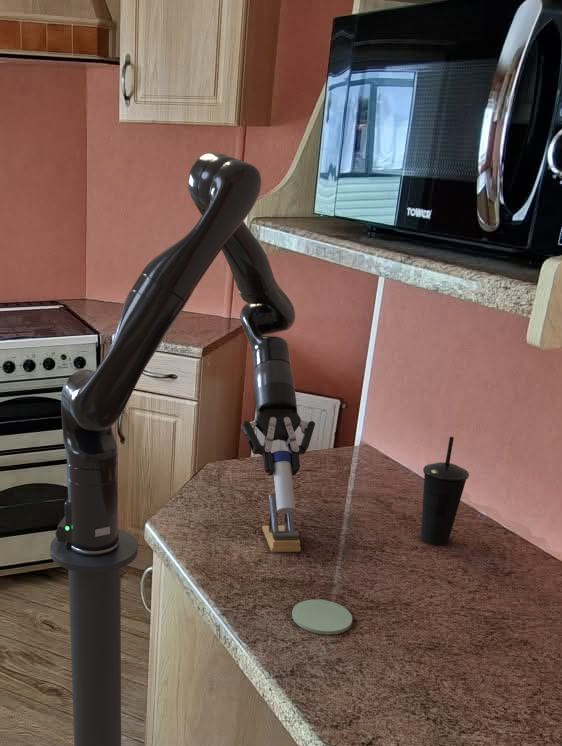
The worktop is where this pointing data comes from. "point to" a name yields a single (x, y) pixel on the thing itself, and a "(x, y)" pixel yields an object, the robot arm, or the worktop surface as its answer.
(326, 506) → the worktop surface
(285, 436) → the robot arm
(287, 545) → the rack
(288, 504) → the vial
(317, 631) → the mat
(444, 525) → the drinking cup
